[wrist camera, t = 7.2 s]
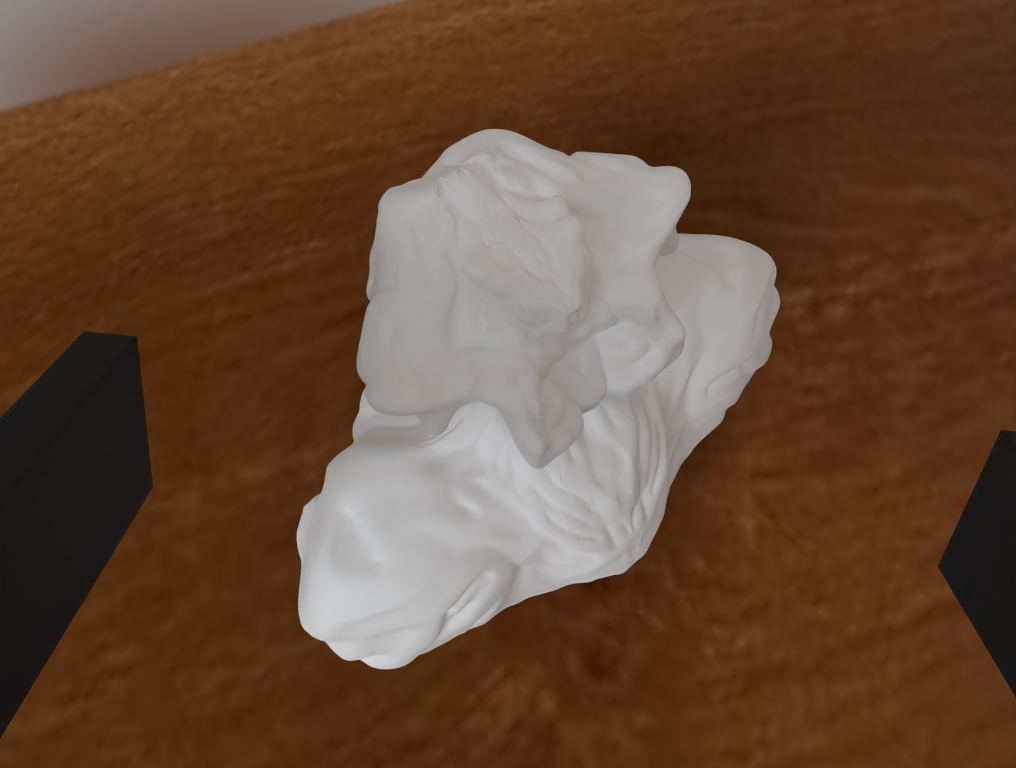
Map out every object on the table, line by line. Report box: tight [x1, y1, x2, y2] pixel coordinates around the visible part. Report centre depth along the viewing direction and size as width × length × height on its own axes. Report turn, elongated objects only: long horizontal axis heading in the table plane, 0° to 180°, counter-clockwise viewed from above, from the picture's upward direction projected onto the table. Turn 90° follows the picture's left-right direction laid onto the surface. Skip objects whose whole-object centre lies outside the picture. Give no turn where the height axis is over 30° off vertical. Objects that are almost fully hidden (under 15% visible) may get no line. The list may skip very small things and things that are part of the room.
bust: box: [297, 129, 780, 669], centre depth 17 cm, size 12×8×11 cm
